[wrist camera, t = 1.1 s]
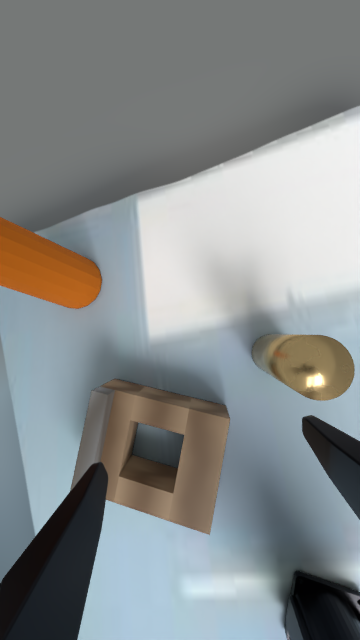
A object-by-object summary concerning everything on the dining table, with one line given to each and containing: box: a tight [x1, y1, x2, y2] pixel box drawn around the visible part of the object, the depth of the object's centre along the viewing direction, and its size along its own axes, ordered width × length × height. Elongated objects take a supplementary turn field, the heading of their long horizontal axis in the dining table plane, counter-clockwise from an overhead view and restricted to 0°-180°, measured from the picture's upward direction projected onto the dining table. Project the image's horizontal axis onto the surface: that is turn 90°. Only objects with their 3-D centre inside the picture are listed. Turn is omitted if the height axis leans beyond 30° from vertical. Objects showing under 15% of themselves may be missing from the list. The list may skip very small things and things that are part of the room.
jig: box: [70, 379, 230, 535], centre depth 20 cm, size 14×11×5 cm
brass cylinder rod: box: [252, 334, 354, 401], centre depth 17 cm, size 4×4×9 cm
